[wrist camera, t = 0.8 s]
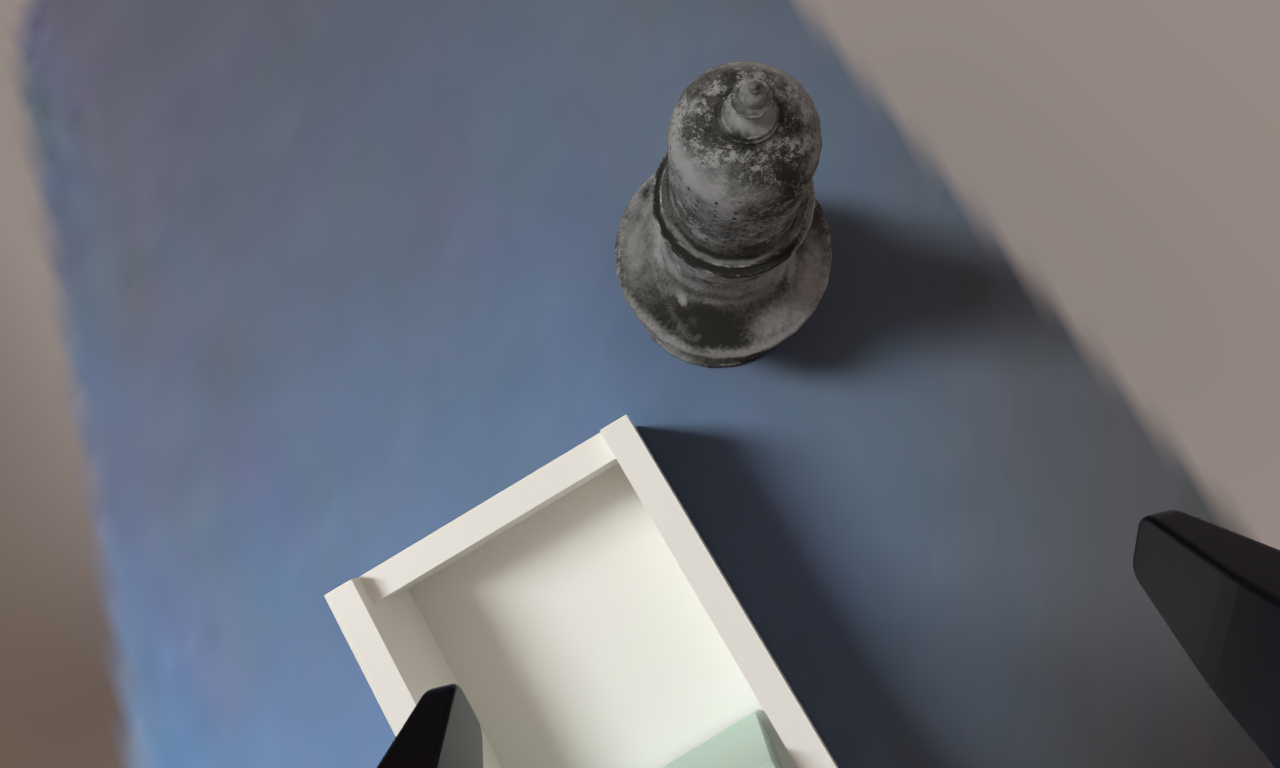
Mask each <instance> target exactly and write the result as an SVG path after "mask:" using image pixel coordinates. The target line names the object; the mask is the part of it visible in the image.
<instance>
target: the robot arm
mask: <svg viewBox="0 0 1280 768" xmlns="http://www.w3.org/2000/svg"><path fill="white" fill-rule="evenodd" d="M1133 567H1134V572H1135V575H1136V577H1137V579H1138V581H1139V583H1140V584H1141V586H1142V587H1143V589H1144V590H1145V592H1146V593H1147V595H1148V596H1149V598H1150V599H1151V601H1152V602H1153V604H1154V605H1155V607H1156V608H1157V610H1158V611H1159V613H1160V614H1161V616H1162V617H1163V619H1164V620H1165V622H1166V623H1167V625H1168V626H1169V628H1170V629H1171V631H1172V632H1173V634H1174V635H1175V637H1176V638H1177V640H1178V641H1179V643H1180V644H1181V646H1182V647H1183V649H1184V650H1185V652H1186V653H1187V655H1188V656H1189V658H1190V659H1191V660H1192V662H1193V663H1194V665H1195V666H1196V668H1197V669H1198V671H1199V672H1200V674H1201V675H1202V677H1203V678H1204V679H1205V681H1206V682H1207V684H1208V685H1209V686H1210V688H1211V689H1212V691H1213V692H1214V693H1215V694H1216V696H1217V697H1218V698H1219V699H1220V701H1221V702H1222V703H1223V705H1224V706H1225V707H1226V708H1227V710H1228V711H1229V712H1230V713H1231V714H1232V716H1233V717H1234V718H1235V719H1236V721H1237V722H1238V723H1239V724H1240V725H1241V727H1242V728H1243V729H1244V730H1245V732H1246V733H1247V734H1248V735H1249V736H1250V738H1251V739H1252V740H1253V741H1254V743H1255V744H1256V745H1257V746H1258V747H1259V749H1260V750H1261V751H1262V752H1263V753H1264V755H1265V756H1266V757H1267V758H1268V760H1269V761H1270V762H1271V763H1272V764H1273V766H1274V767H1275V768H1280V550H1278V549H1275V548H1273V547H1270V546H1268V545H1265V544H1263V543H1260V542H1258V541H1255V540H1253V539H1250V538H1248V537H1245V536H1243V535H1240V534H1238V533H1235V532H1233V531H1230V530H1228V529H1225V528H1223V527H1220V526H1218V525H1215V524H1212V523H1210V522H1207V521H1205V520H1202V519H1200V518H1197V517H1195V516H1192V515H1190V514H1187V513H1185V512H1182V511H1177V510H1170V511H1165V512H1161V513H1157V514H1153V515H1149V516H1146V517H1144V518H1143V519H1142V520H1141V521H1140V523H1139V526H1138V533H1137V539H1136V545H1135V552H1134V558H1133ZM377 768H483V740H482V731H481V726H480V723H479V721H478V718H477V716H476V715H475V713H474V711H473V709H472V707H471V705H470V703H469V701H468V700H467V698H466V696H465V694H464V692H463V690H462V689H461V687H460V686H459V685H457V684H449V685H445V686H441V687H436V688H432V689H430V690H428V691H426V692H425V693H424V694H423V696H422V697H421V698H420V700H419V702H418V703H417V705H416V706H415V708H414V710H413V711H412V713H411V714H410V716H409V717H408V719H407V721H406V722H405V724H404V725H403V727H402V729H401V730H400V732H399V733H398V735H397V736H396V738H395V740H394V741H393V743H392V744H391V746H390V748H389V749H388V751H387V752H386V754H385V755H384V757H383V759H382V760H381V762H380V763H379V765H378V767H377Z"/></svg>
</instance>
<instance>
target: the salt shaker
mask: <svg viewBox="0 0 1280 768" xmlns="http://www.w3.org/2000/svg"><path fill="white" fill-rule="evenodd" d="M667 146H668V152H667V153H666V154H665V156H664V158H663V159H662V161H661V163H660V165H659V167H658V169H657V171H656V173H654V174H652V175H651V177H650V178H649V179H648V180H647V181H646V182H645V183H644V184H643V185H642V186H641V187H640V188H639V189H638V191H637V192H636V193H635V194H634V195H633V197H632V199H631V201H630V203H629V204H628V206H627V208H626V210H625V212H624V214H623V216H622V218H621V221H620V225H619V230H618V234H617V239H616V243H615V255H616V273H617V276H618V279H619V282H620V285H621V288H622V291H623V294H624V297H625V300H626V301H627V303H628V304H629V306H630V307H631V309H632V310H633V312H634V313H635V315H636V316H637V318H638V319H639V321H640V322H641V323H642V324H643V325H644V326H645V328H646V329H647V331H648V333H649V334H650V336H651V337H652V339H653V340H654V341H655V342H656V343H658V344H659V345H660V346H661V347H662V348H663V349H664V350H666V351H667V352H668V353H669V354H671V355H673V356H675V357H677V358H679V359H681V360H683V361H685V362H687V363H689V364H694V365H699V366H704V367H709V368H718V367H733V366H736V365H739V364H742V363H745V362H748V361H751V360H754V359H756V358H757V357H759V356H760V355H762V354H763V353H765V352H766V351H768V350H769V349H771V348H773V347H775V346H776V345H778V344H779V343H781V342H782V341H784V340H785V339H787V338H788V337H790V336H791V335H793V334H795V333H796V332H797V331H798V329H799V328H800V327H801V326H802V325H803V324H804V323H805V322H806V321H807V319H808V318H809V317H810V316H811V315H812V314H813V313H814V312H815V310H816V308H817V306H818V304H819V302H820V300H821V298H822V296H823V294H824V292H825V290H826V288H827V285H828V280H829V274H830V269H831V264H832V247H831V236H830V230H829V227H828V224H827V222H826V219H825V216H824V214H823V211H822V208H821V206H820V204H819V203H818V201H817V200H816V199H815V193H814V183H813V180H812V177H813V175H814V173H815V171H816V168H817V166H818V163H819V158H820V152H821V147H822V140H821V129H820V119H819V116H818V113H817V111H816V108H815V105H814V103H813V100H812V99H811V98H810V96H809V95H808V94H807V92H806V91H805V89H804V88H803V87H802V85H801V84H799V83H798V82H797V81H796V80H794V79H793V78H792V77H791V76H789V75H788V74H787V73H786V72H783V71H781V70H779V69H777V68H775V67H772V66H770V65H768V64H762V63H757V62H751V61H743V62H729V63H726V64H723V65H720V66H717V67H714V68H711V69H710V70H708V71H707V72H705V73H703V74H702V75H700V76H699V77H697V78H696V79H695V80H694V81H693V82H692V83H691V84H690V85H689V86H688V87H687V88H686V90H685V91H684V92H683V93H682V95H681V97H680V99H679V101H678V103H677V105H676V107H675V109H674V111H673V113H672V115H671V119H670V123H669V128H668V133H667Z"/></svg>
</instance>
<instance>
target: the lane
mask: <svg viewBox="0 0 1280 768" xmlns="http://www.w3.org/2000/svg"><path fill="white" fill-rule="evenodd" d="M324 596H325V598H326V600H327V602H328V604H329V606H330V608H331V610H332V612H333V614H334V616H335V618H336V620H337V622H338V624H339V626H340V628H341V630H342V632H343V634H344V636H345V638H346V640H347V642H348V644H349V646H350V648H351V650H352V651H353V653H354V655H355V657H356V659H357V661H358V663H359V665H360V667H361V669H362V671H363V673H364V675H365V677H366V679H367V681H368V683H369V685H370V687H371V689H372V691H373V693H374V695H375V697H376V699H377V701H378V703H379V705H380V707H381V708H382V710H383V712H384V714H385V716H386V718H387V720H388V722H389V724H390V726H391V728H392V730H393V732H394V734H395V736H397V735H398V733H399V732H400V730H401V729H402V727H403V725H404V724H405V722H406V721H407V719H408V717H409V716H410V714H411V713H412V711H413V710H414V708H415V706H416V705H417V703H418V702H419V700H420V698H421V697H422V696H423V694H424V693H425V692H426V691H428V690H430V689H432V688H436V687H441V686H445V685H449V684H457V685H459V686H460V687H461V689H462V690H463V692H464V694H465V696H466V698H467V700H468V701H469V703H470V705H471V707H472V709H473V711H474V713H475V715H476V716H477V718H478V721H479V723H480V726H481V731H482V740H483V768H663V767H665V766H666V765H668V764H669V763H671V762H673V761H674V760H676V759H678V758H679V757H681V756H682V755H684V754H686V753H687V752H689V751H691V750H692V749H694V748H696V747H697V746H699V745H700V744H702V743H704V742H705V741H707V740H709V739H710V738H712V737H713V736H715V735H717V734H718V733H720V732H722V731H723V730H725V729H727V728H728V727H730V726H731V725H733V724H735V723H736V722H738V721H740V720H741V719H743V718H744V717H746V716H748V715H749V714H751V713H753V712H754V711H755V713H756V714H757V716H758V718H759V719H760V721H761V723H762V725H763V726H764V728H765V730H766V731H767V733H768V735H769V737H770V738H771V740H772V742H773V743H774V746H775V748H776V751H777V754H778V757H779V759H780V762H781V765H782V768H839V767H838V765H837V764H836V762H835V760H834V759H833V757H832V755H831V754H830V752H829V750H828V748H827V747H826V745H825V743H824V742H823V740H822V738H821V737H820V735H819V733H818V732H817V730H816V728H815V727H814V725H813V723H812V722H811V720H810V718H809V717H808V715H807V713H806V712H805V710H804V708H803V707H802V705H801V703H800V702H799V700H798V698H797V696H796V695H795V693H794V691H793V690H792V688H791V686H790V685H789V683H788V681H787V680H786V678H785V676H784V675H783V673H782V671H781V670H780V668H779V666H778V665H777V663H776V661H775V660H774V658H773V656H772V655H771V653H770V651H769V650H768V648H767V646H766V644H765V643H764V641H763V639H762V638H761V636H760V634H759V633H758V631H757V629H756V628H755V626H754V624H753V623H752V621H751V619H750V618H749V616H748V614H747V613H746V611H745V609H744V608H743V606H742V604H741V603H740V601H739V599H738V598H737V596H736V594H735V592H734V591H733V589H732V587H731V586H730V584H729V582H728V581H727V579H726V577H725V576H724V574H723V572H722V571H721V569H720V567H719V566H718V564H717V562H716V561H715V559H714V557H713V556H712V554H711V552H710V551H709V549H708V547H707V546H706V544H705V542H704V541H703V539H702V537H701V535H700V534H699V532H698V530H697V529H696V527H695V525H694V524H693V522H692V520H691V519H690V517H689V515H688V514H687V512H686V510H685V509H684V507H683V505H682V504H681V502H680V500H679V499H678V497H677V495H676V494H675V492H674V490H673V489H672V487H671V485H670V483H669V482H668V480H667V478H666V477H665V475H664V473H663V472H662V470H661V468H660V467H659V465H658V463H657V462H656V460H655V458H654V457H653V455H652V453H651V452H650V450H649V448H648V447H647V445H646V443H645V442H644V440H643V438H642V437H641V435H640V433H639V431H638V430H637V428H636V426H635V425H634V424H633V422H632V421H631V420H630V419H629V417H628V416H627V415H624V416H623V417H621V418H619V419H618V420H616V421H614V422H613V423H611V424H609V425H608V426H606V427H604V428H603V429H601V430H600V433H599V434H597V435H595V436H594V437H592V438H590V439H588V440H587V441H585V442H583V443H582V444H580V445H578V446H577V447H575V448H573V449H572V450H570V451H568V452H567V453H565V454H563V455H562V456H560V457H558V458H557V459H555V460H553V461H552V462H550V463H548V464H547V465H545V466H543V467H542V468H540V469H538V470H537V471H535V472H533V473H532V474H530V475H528V476H527V477H525V478H523V479H522V480H520V481H518V482H517V483H515V484H513V485H512V486H510V487H508V488H507V489H505V490H503V491H502V492H500V493H498V494H497V495H495V496H493V497H492V498H490V499H488V500H487V501H485V502H483V503H482V504H480V505H478V506H477V507H475V508H473V509H472V510H470V511H468V512H467V513H465V514H463V515H462V516H460V517H458V518H457V519H455V520H453V521H452V522H450V523H448V524H447V525H445V526H443V527H442V528H440V529H438V530H437V531H435V532H433V533H432V534H430V535H428V536H427V537H425V538H423V539H422V540H420V541H418V542H417V543H415V544H413V545H412V546H410V547H408V548H407V549H405V550H403V551H402V552H400V553H398V554H397V555H395V556H393V557H392V558H390V559H388V560H387V561H385V562H383V563H382V564H380V565H378V566H377V567H375V568H373V569H372V570H370V571H368V572H367V573H365V574H363V575H362V576H360V577H357V578H354V579H351V580H349V581H347V582H346V583H344V584H342V585H341V586H339V587H337V588H336V589H334V590H332V591H331V592H329V593H327V594H326V595H324Z"/></svg>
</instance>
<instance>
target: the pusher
mask: <svg viewBox="0 0 1280 768" xmlns="http://www.w3.org/2000/svg"><path fill="white" fill-rule="evenodd" d="M663 768H782V765H781V762H780V759H779V757H778V754H777V751H776V748H775V746H774V743H773V742H772V740H771V738H770V737H769V735H768V733H767V731H766V730H765V728H764V726H763V725H762V723H761V721H760V719H759V718H758V716H757V714H756V713H755V711H754V712H753V713H751V714H749V715H748V716H746V717H744V718H743V719H741V720H740V721H738V722H736V723H735V724H733V725H731V726H730V727H728V728H727V729H725V730H723V731H722V732H720V733H718V734H717V735H715V736H713V737H712V738H710V739H709V740H707V741H705V742H704V743H702V744H700V745H699V746H697V747H696V748H694V749H692V750H691V751H689V752H687V753H686V754H684V755H682V756H681V757H679V758H678V759H676V760H674V761H673V762H671V763H669V764H668V765H666V766H665V767H663Z"/></svg>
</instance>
